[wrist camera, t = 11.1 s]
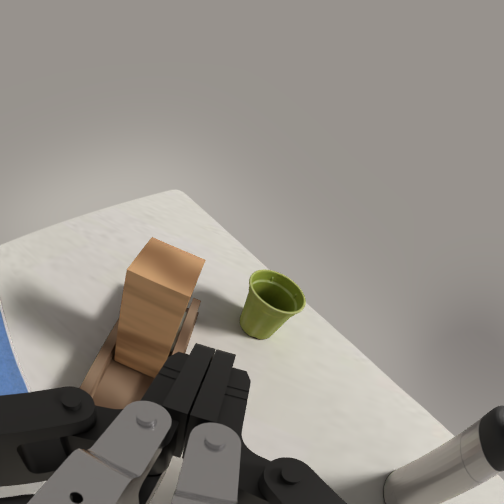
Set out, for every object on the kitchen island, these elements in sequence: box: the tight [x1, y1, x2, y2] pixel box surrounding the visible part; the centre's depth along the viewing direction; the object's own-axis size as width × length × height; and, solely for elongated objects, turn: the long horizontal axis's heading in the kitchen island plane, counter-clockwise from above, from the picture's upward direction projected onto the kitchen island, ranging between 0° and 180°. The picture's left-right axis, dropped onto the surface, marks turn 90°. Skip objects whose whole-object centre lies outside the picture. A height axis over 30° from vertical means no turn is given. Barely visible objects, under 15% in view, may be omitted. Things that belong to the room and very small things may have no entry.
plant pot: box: [240, 270, 306, 339], centre depth 46 cm, size 9×9×9 cm
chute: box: [80, 298, 201, 409], centre depth 30 cm, size 30×10×4 cm, turn 174°
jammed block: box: [114, 237, 205, 378], centre depth 30 cm, size 6×6×15 cm
